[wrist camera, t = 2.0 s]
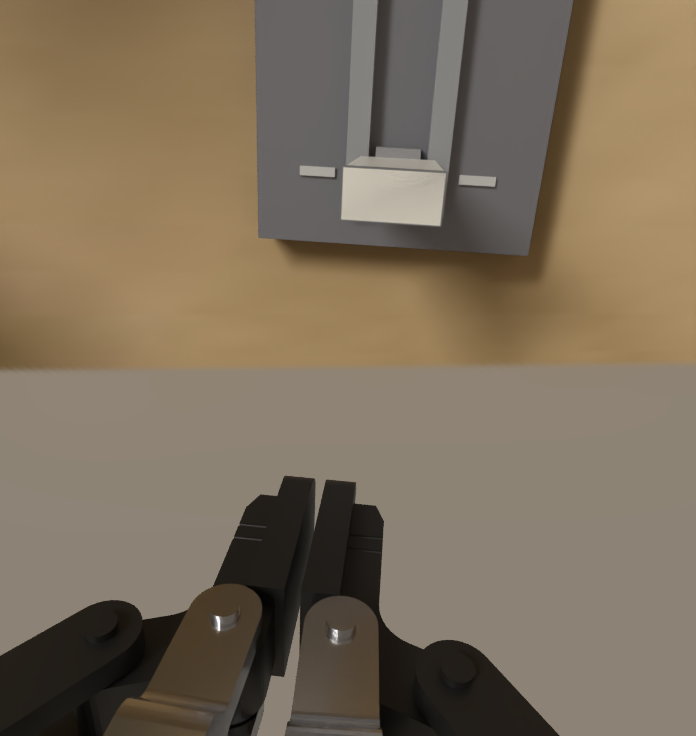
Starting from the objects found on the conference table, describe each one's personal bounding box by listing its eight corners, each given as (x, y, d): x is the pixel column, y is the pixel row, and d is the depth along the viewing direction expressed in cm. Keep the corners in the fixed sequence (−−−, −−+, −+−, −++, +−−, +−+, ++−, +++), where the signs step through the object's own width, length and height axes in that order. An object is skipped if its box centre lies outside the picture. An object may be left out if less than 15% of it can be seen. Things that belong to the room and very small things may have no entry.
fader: (358, 201, 32) (339, 231, 23) (361, 145, 31) (342, 153, 22) (430, 205, 32) (440, 238, 23) (436, 149, 31) (448, 159, 21)
